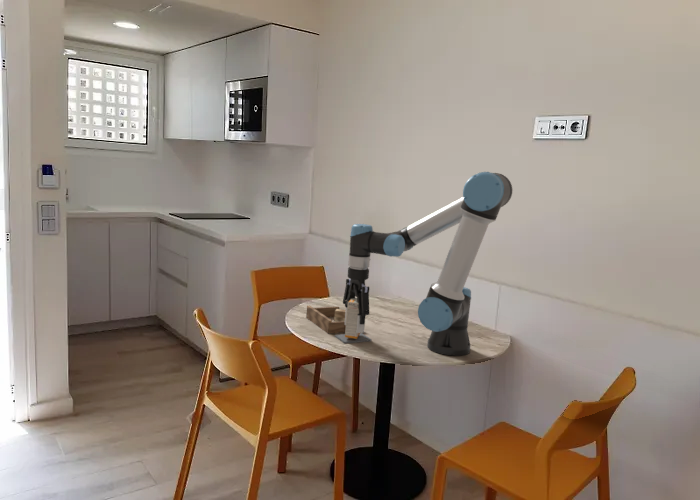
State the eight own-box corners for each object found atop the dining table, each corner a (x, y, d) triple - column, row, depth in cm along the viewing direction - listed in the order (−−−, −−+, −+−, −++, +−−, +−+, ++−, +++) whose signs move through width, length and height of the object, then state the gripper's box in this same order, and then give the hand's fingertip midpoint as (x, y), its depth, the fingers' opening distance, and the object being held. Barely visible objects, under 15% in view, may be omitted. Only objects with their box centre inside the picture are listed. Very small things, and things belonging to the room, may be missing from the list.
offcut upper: (353, 317, 225) (354, 311, 225) (351, 319, 222) (352, 312, 222) (336, 314, 227) (337, 308, 226) (334, 316, 224) (334, 310, 223)
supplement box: (357, 339, 201) (360, 303, 199) (344, 337, 202) (347, 301, 200) (361, 332, 209) (364, 298, 207) (348, 331, 210) (351, 296, 208)
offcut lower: (353, 327, 222) (354, 319, 222) (347, 328, 220) (347, 320, 220) (340, 321, 229) (341, 313, 229) (334, 321, 227) (334, 314, 227)
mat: (371, 341, 205) (371, 339, 205) (344, 343, 200) (344, 341, 200) (361, 334, 212) (361, 332, 212) (334, 336, 207) (334, 334, 207)
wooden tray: (361, 331, 216) (362, 318, 215) (327, 333, 210) (328, 320, 209) (337, 315, 235) (338, 304, 234) (306, 317, 229) (307, 305, 228)
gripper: (382, 273, 194) (377, 336, 198) (354, 261, 213) (350, 319, 217) (363, 273, 191) (358, 338, 194) (336, 261, 210) (332, 320, 213)
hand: (354, 328), depth 205 cm, fingers closed on supplement box, 9 cm apart
